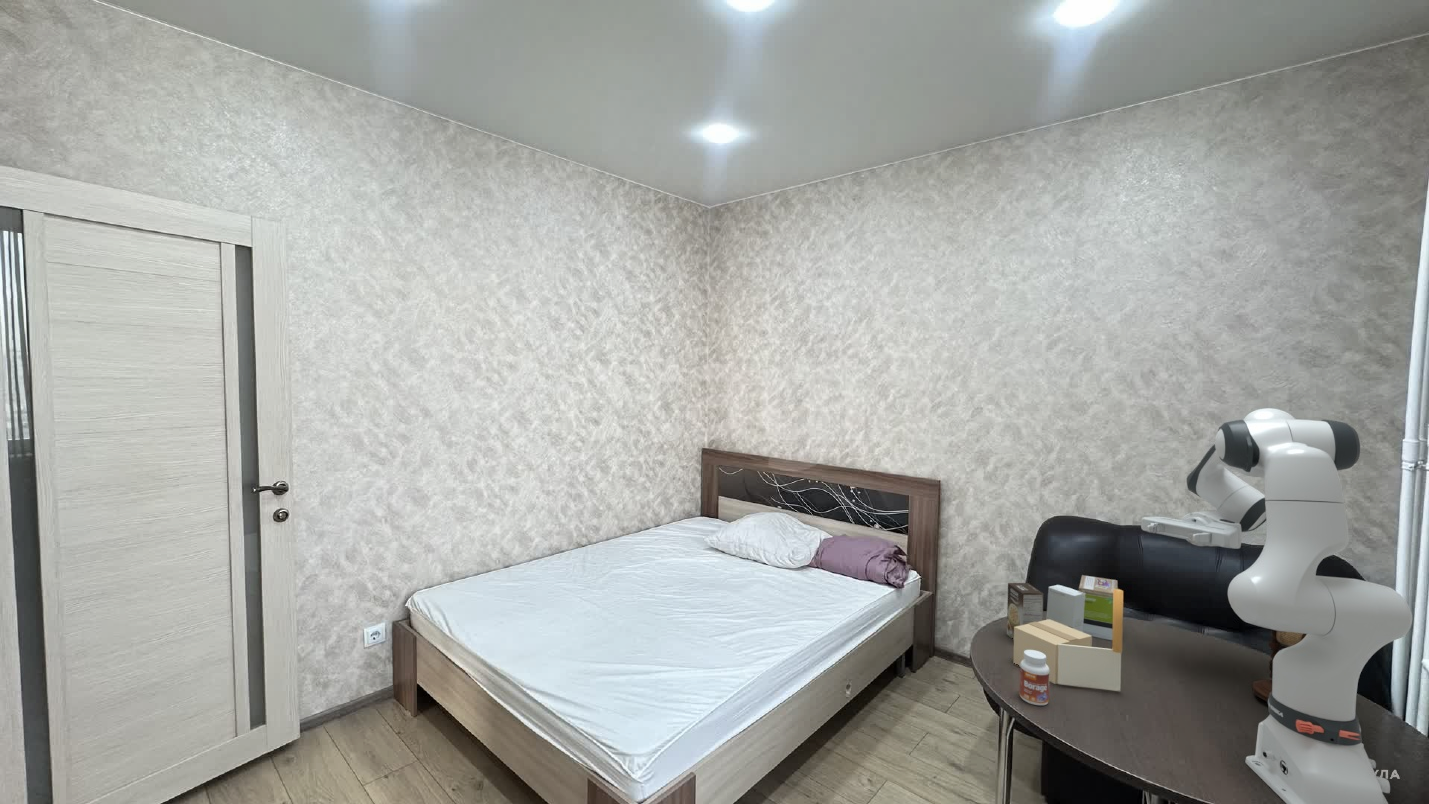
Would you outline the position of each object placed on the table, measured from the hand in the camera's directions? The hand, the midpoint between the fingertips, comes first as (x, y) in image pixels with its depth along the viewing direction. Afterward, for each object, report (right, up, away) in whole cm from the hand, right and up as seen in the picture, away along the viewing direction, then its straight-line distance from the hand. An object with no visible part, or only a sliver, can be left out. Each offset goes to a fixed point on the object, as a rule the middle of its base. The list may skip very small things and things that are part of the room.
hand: (1170, 533), depth 147 cm
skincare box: (-12, -37, +25) cm, 47 cm away
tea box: (+3, -38, +31) cm, 49 cm away
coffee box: (-25, -37, +23) cm, 51 cm away
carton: (-27, -37, +6) cm, 47 cm away
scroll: (+20, -38, -12) cm, 45 cm away
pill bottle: (-40, -38, -10) cm, 56 cm away
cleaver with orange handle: (-24, -37, -5) cm, 45 cm away
